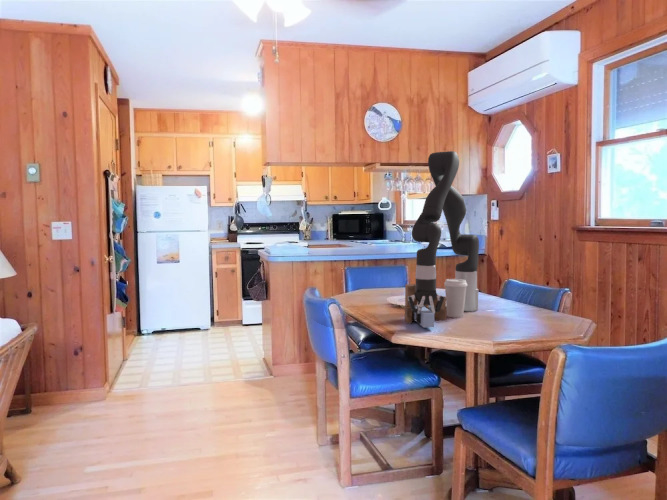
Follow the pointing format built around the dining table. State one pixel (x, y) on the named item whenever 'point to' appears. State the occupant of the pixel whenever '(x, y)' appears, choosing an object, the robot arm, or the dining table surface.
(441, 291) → the dining table surface
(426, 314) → the grey rectangular bar
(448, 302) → the coffee cup
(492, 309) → the dining table surface
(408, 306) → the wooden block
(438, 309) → the robot arm
